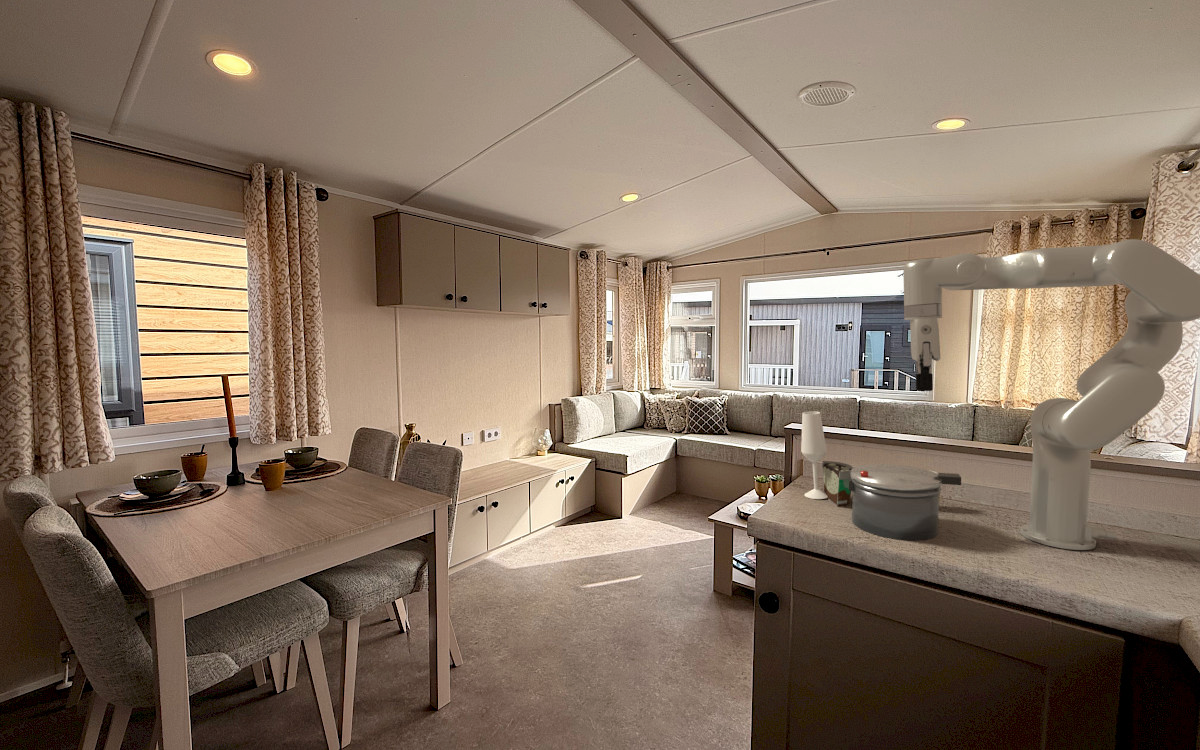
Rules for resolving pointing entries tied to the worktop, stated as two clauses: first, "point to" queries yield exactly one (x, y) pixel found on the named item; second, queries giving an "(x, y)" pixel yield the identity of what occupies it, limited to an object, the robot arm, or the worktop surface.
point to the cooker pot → (895, 511)
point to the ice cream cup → (837, 482)
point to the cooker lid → (902, 477)
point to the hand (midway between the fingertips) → (924, 390)
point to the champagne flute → (813, 447)
